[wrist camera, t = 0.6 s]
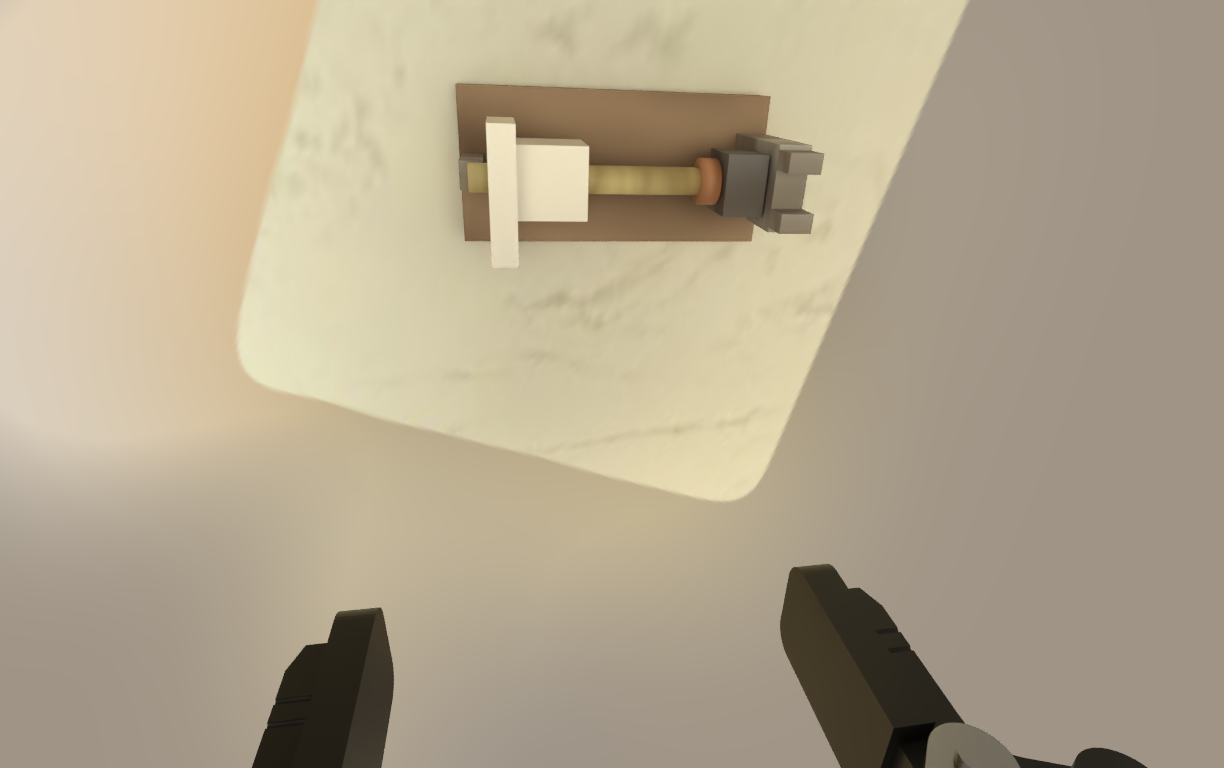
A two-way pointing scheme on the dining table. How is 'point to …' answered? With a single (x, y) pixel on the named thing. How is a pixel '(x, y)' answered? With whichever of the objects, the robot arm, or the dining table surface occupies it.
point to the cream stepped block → (531, 184)
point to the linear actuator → (646, 163)
